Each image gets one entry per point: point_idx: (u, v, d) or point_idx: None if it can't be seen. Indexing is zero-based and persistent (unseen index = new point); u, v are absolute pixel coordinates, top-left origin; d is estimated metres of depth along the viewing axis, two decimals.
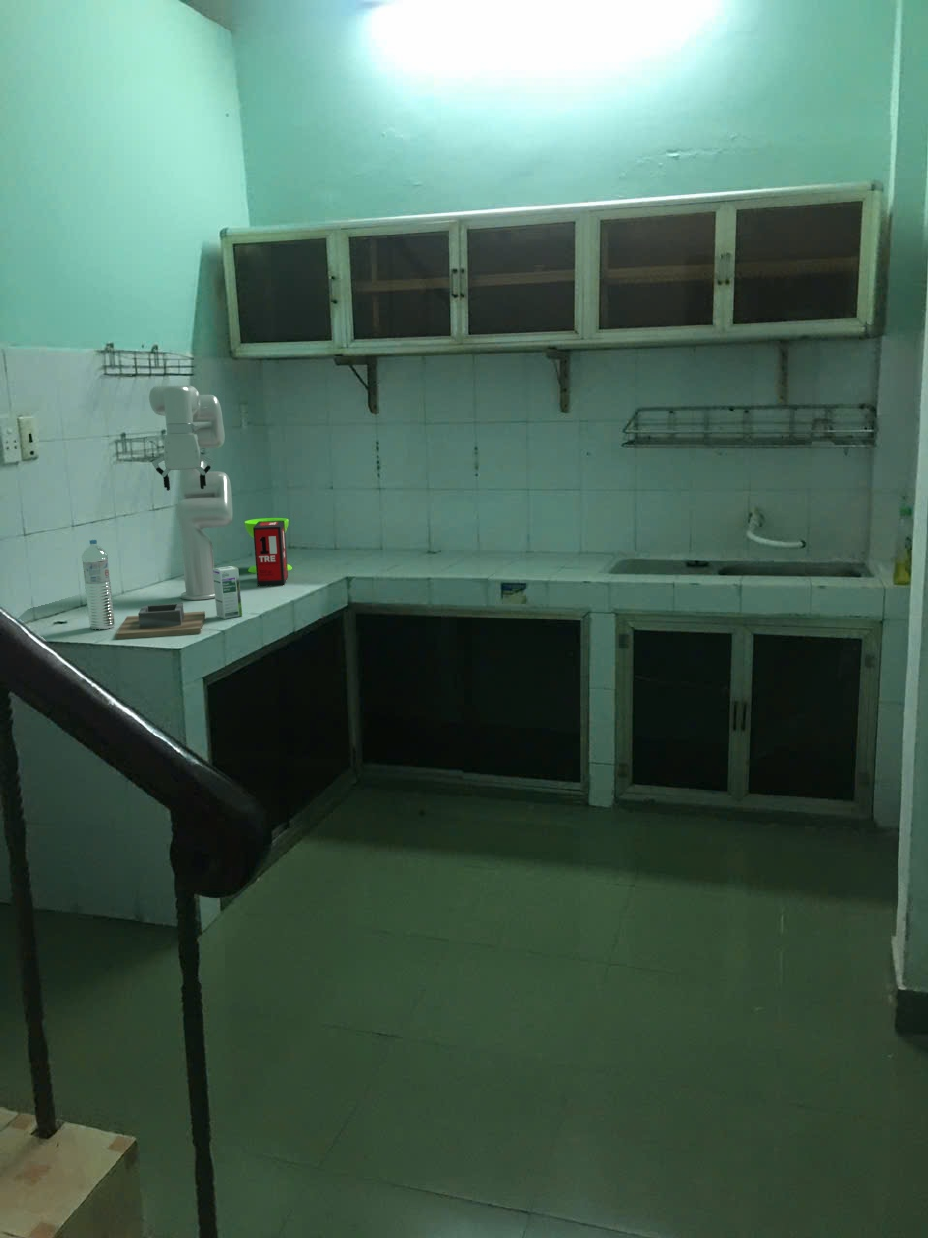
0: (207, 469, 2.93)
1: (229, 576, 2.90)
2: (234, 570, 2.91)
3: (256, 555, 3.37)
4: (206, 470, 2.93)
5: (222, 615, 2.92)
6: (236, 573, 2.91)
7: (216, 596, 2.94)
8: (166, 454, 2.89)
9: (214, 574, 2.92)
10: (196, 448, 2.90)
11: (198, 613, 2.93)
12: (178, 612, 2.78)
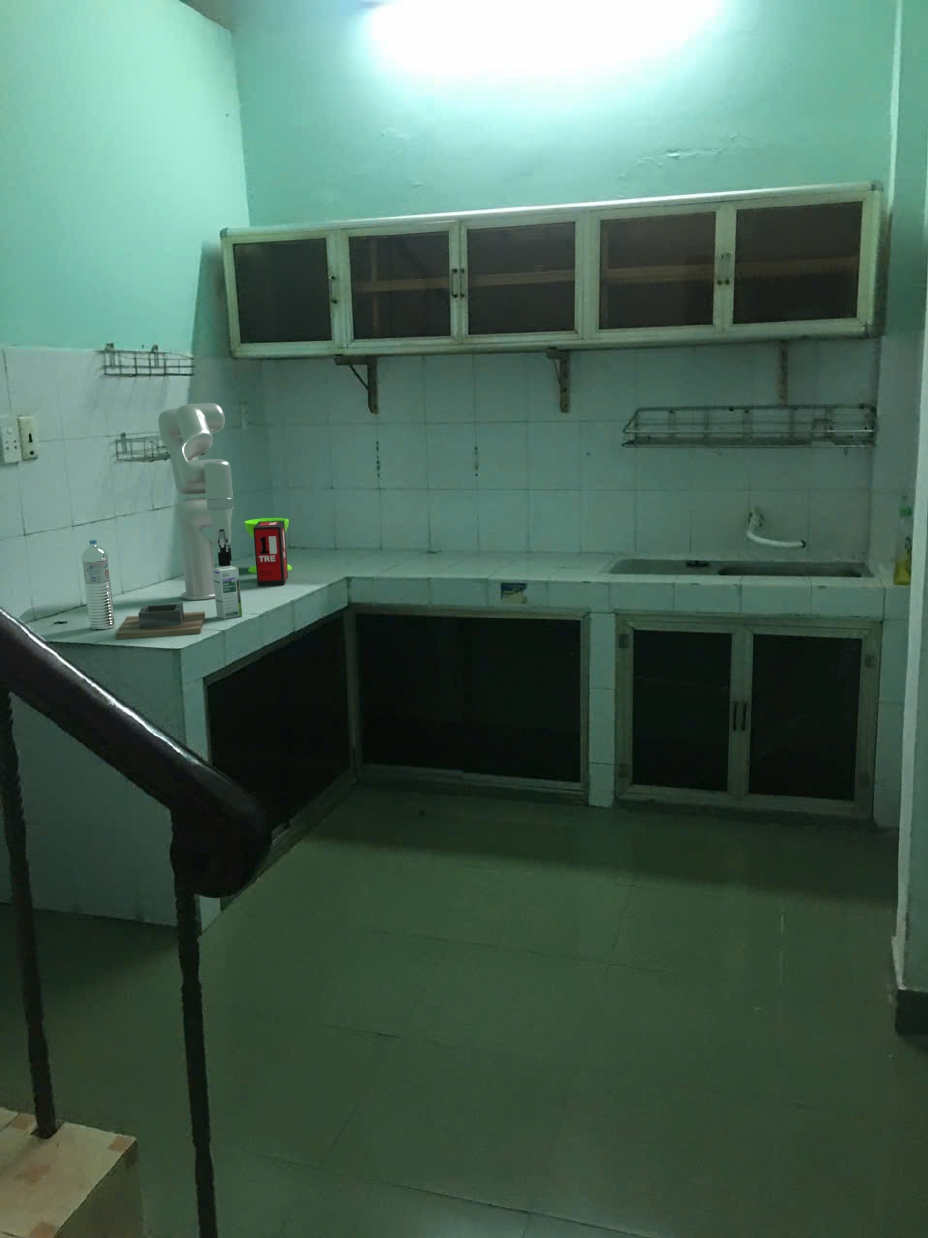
0: None
1: (229, 576, 2.90)
2: (234, 570, 2.91)
3: (256, 555, 3.37)
4: None
5: (222, 615, 2.92)
6: (236, 573, 2.91)
7: (216, 596, 2.94)
8: (229, 529, 2.85)
9: (214, 574, 2.92)
10: None
11: (198, 613, 2.93)
12: (178, 612, 2.78)
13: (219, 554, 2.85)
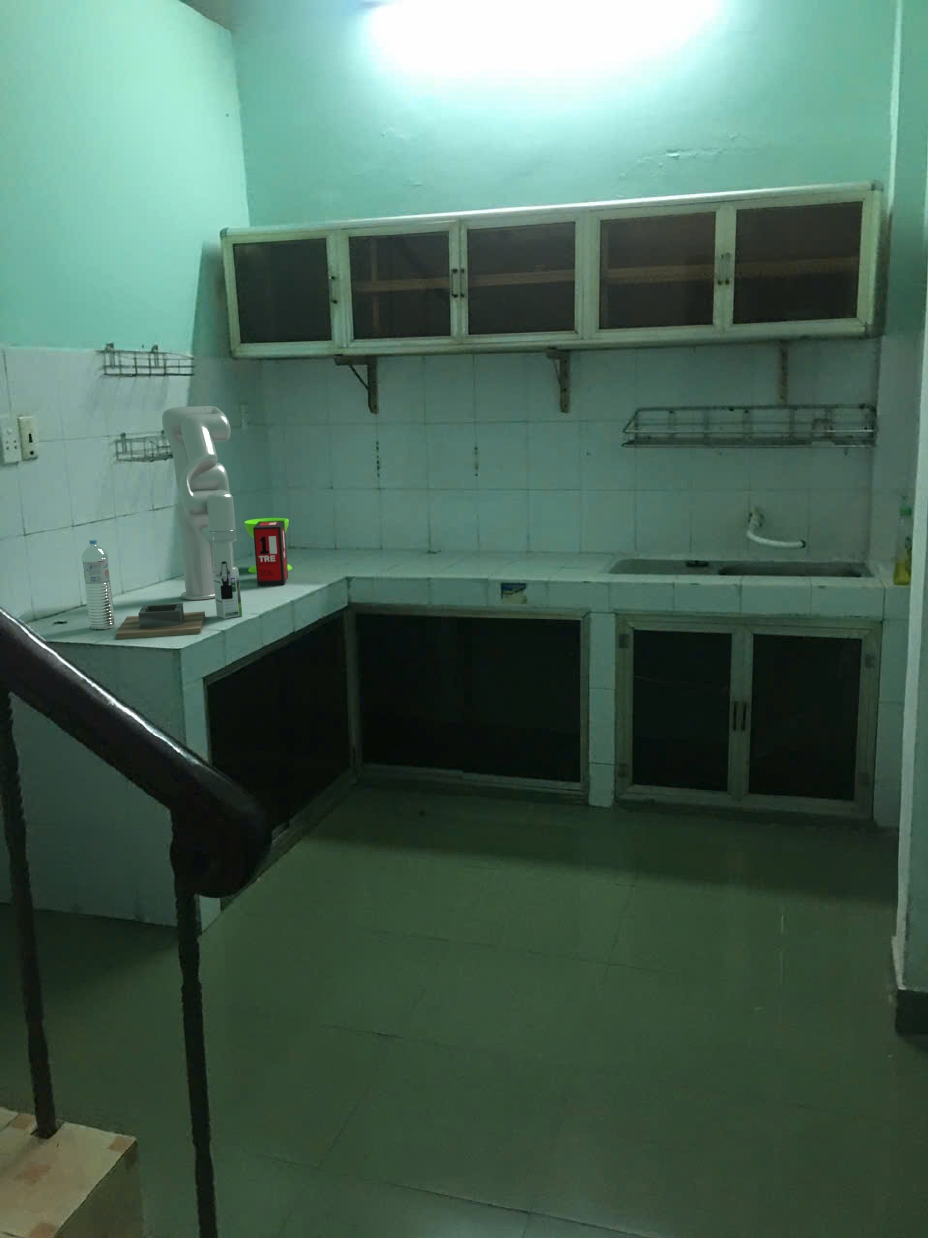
0: None
1: None
2: (234, 570, 2.91)
3: (256, 555, 3.37)
4: None
5: (222, 615, 2.92)
6: (236, 573, 2.91)
7: (216, 596, 2.94)
8: (231, 561, 2.88)
9: (214, 574, 2.92)
10: None
11: (198, 613, 2.93)
12: (178, 612, 2.78)
13: (222, 587, 2.89)
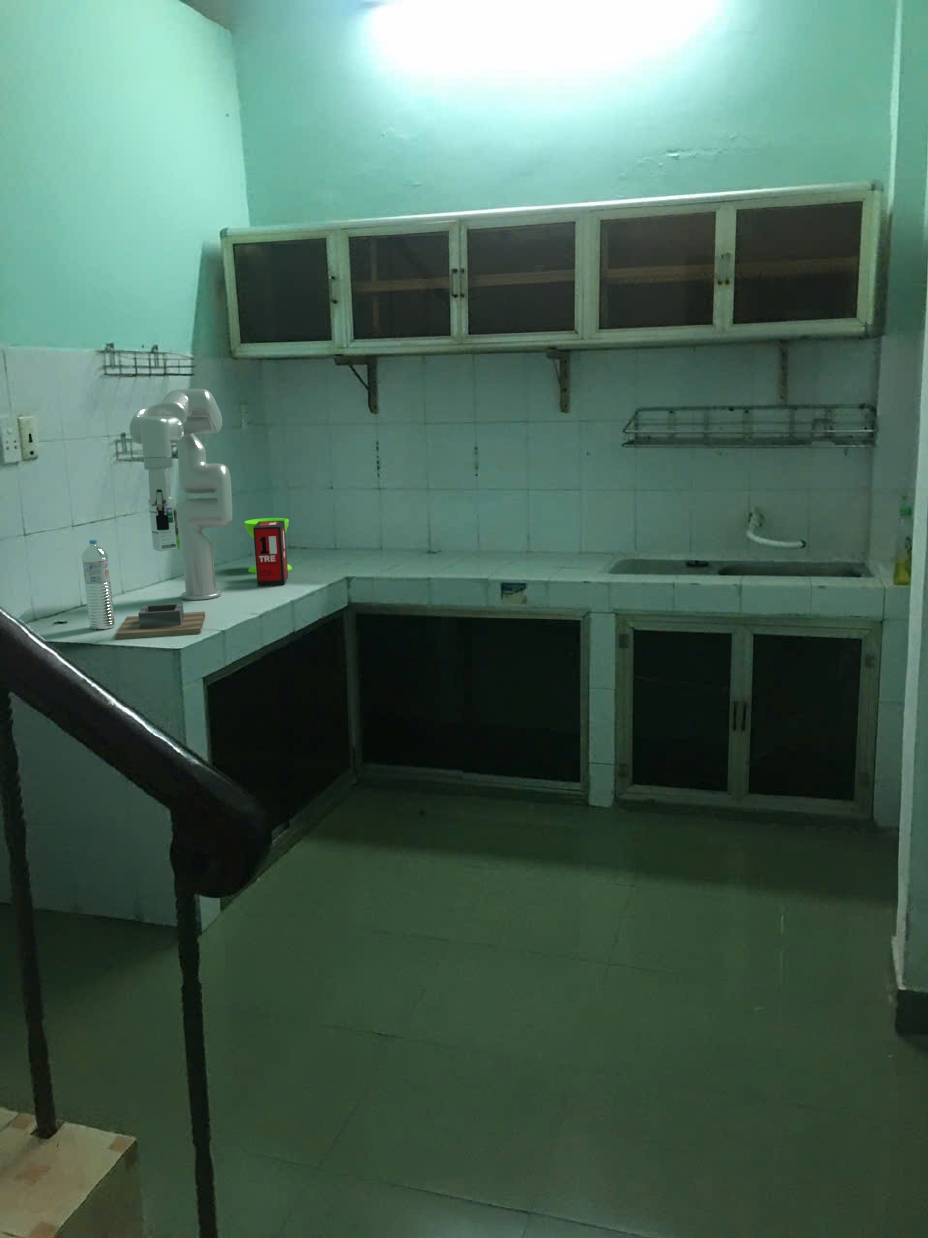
0: None
1: None
2: (171, 500, 2.76)
3: (256, 555, 3.37)
4: None
5: (158, 547, 2.77)
6: (173, 503, 2.77)
7: (152, 528, 2.79)
8: (167, 489, 2.73)
9: None
10: None
11: (198, 613, 2.93)
12: (178, 612, 2.78)
13: (157, 517, 2.74)
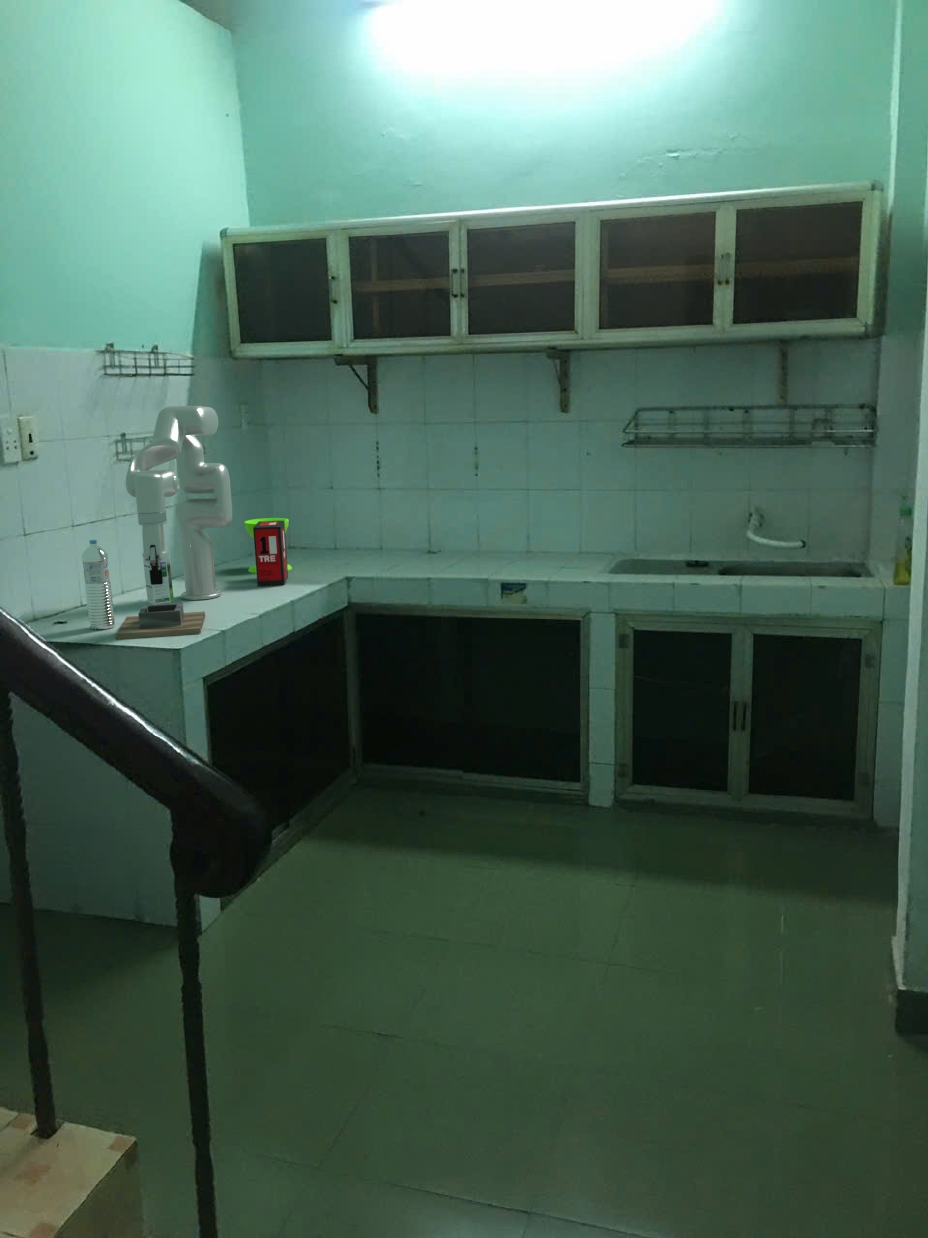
0: None
1: None
2: (164, 554, 2.78)
3: (256, 555, 3.37)
4: None
5: (152, 601, 2.79)
6: (167, 557, 2.78)
7: (146, 581, 2.80)
8: (161, 544, 2.74)
9: None
10: None
11: (198, 613, 2.93)
12: (178, 612, 2.78)
13: (151, 572, 2.75)
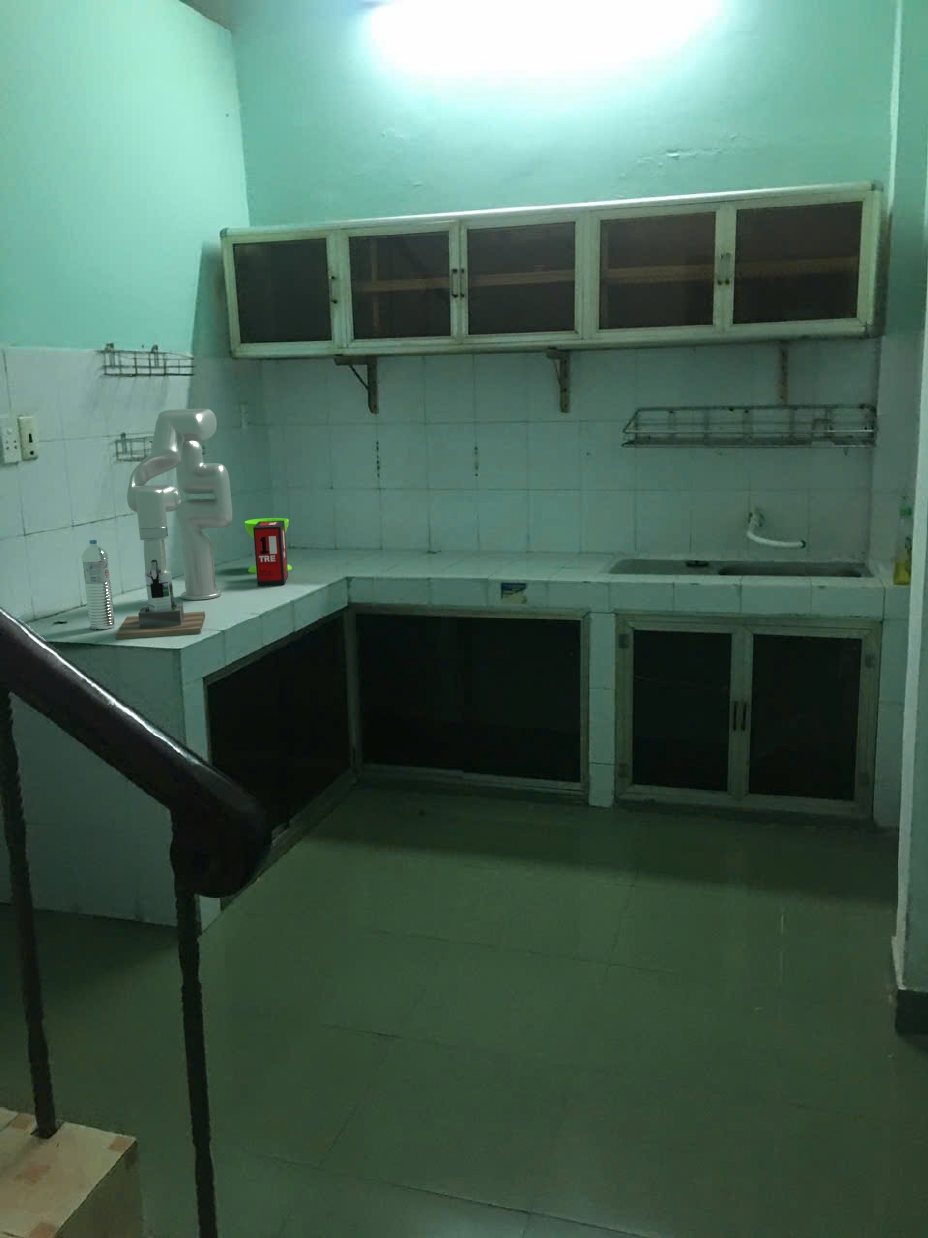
0: None
1: (161, 581, 2.79)
2: (167, 574, 2.79)
3: (256, 555, 3.37)
4: None
5: None
6: (169, 577, 2.80)
7: (149, 601, 2.82)
8: (162, 559, 2.75)
9: (146, 578, 2.80)
10: None
11: (198, 613, 2.93)
12: (178, 612, 2.78)
13: (152, 585, 2.75)
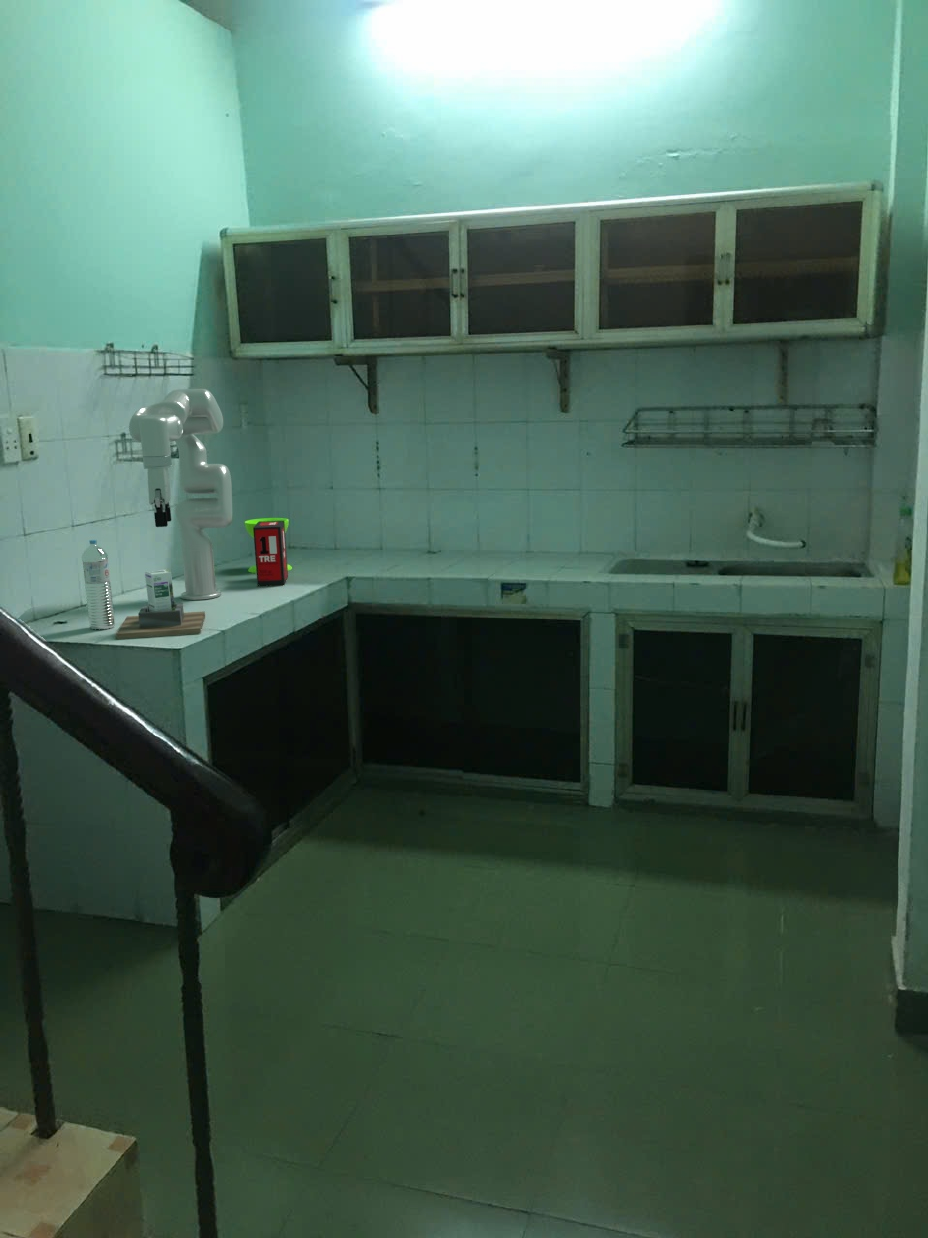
0: None
1: (161, 581, 2.79)
2: (167, 574, 2.79)
3: (256, 555, 3.37)
4: None
5: None
6: (169, 577, 2.80)
7: (149, 601, 2.82)
8: (166, 488, 2.75)
9: (146, 578, 2.80)
10: None
11: (198, 613, 2.93)
12: (178, 612, 2.78)
13: (155, 514, 2.75)
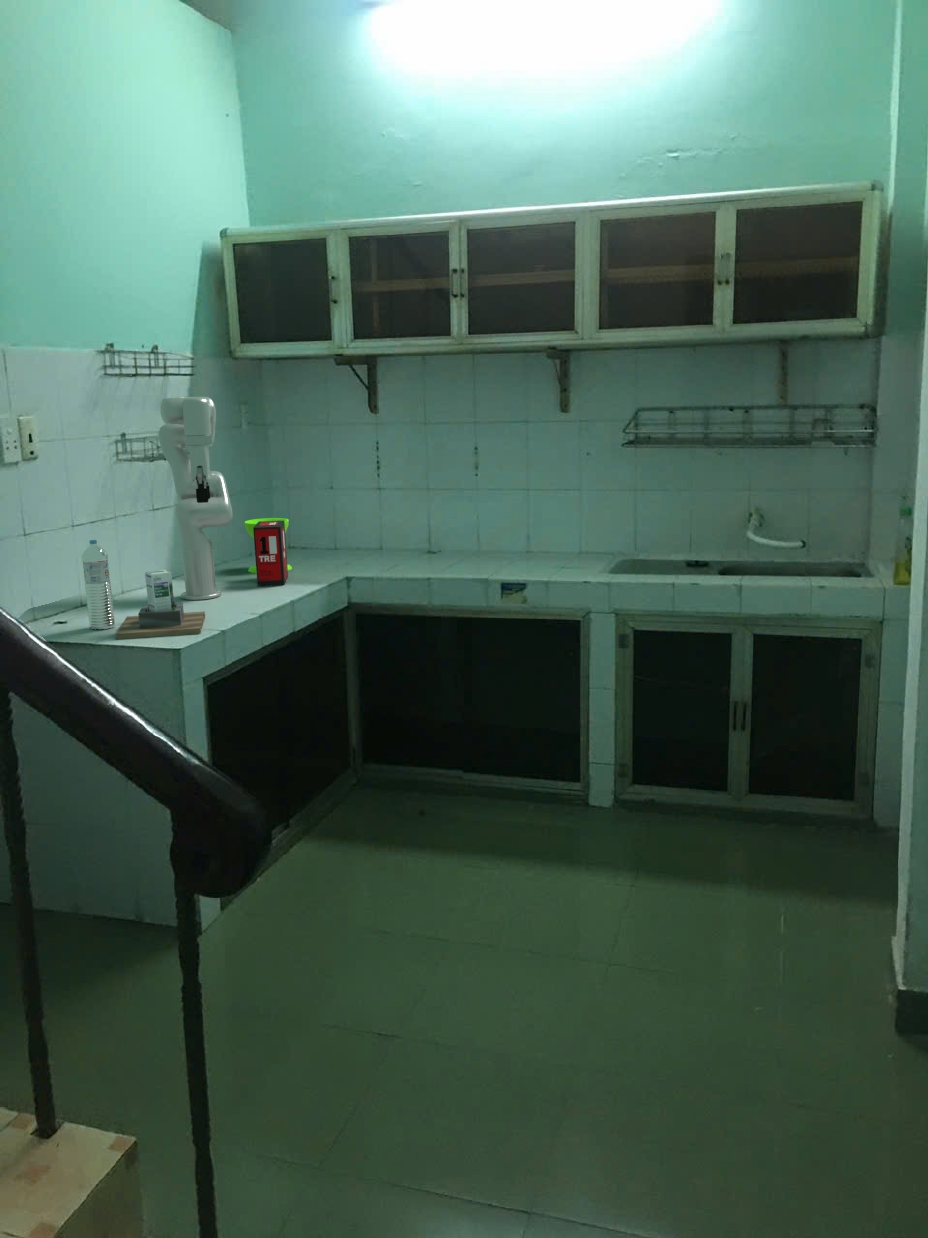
0: None
1: (161, 581, 2.79)
2: (167, 574, 2.79)
3: (256, 555, 3.37)
4: None
5: None
6: (169, 577, 2.80)
7: (149, 601, 2.82)
8: (207, 465, 2.89)
9: (146, 578, 2.80)
10: None
11: (198, 613, 2.93)
12: (178, 612, 2.78)
13: (197, 490, 2.89)
